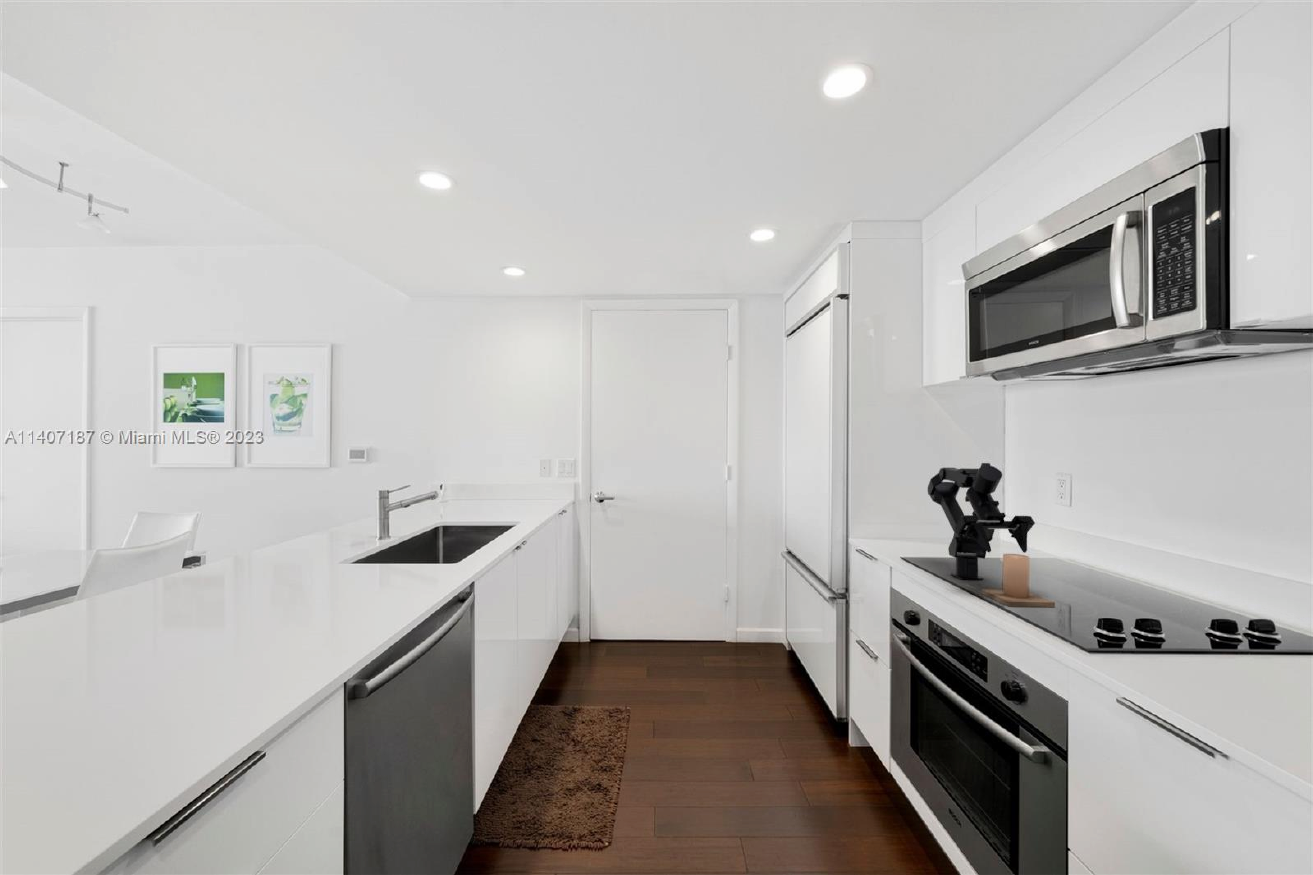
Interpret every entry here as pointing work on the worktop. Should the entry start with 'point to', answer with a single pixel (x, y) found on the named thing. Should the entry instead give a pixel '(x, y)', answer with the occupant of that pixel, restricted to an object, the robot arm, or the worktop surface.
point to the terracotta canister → (1016, 575)
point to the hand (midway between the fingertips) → (1007, 551)
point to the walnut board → (1017, 599)
